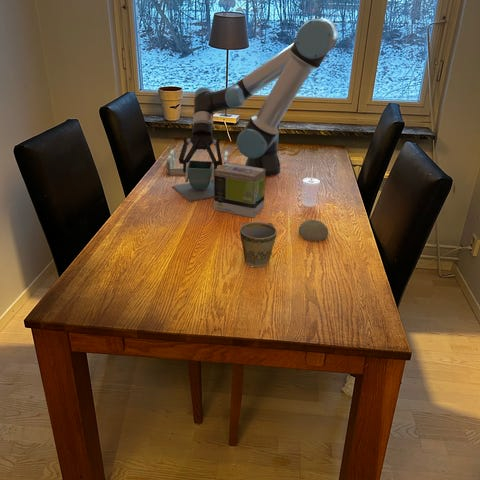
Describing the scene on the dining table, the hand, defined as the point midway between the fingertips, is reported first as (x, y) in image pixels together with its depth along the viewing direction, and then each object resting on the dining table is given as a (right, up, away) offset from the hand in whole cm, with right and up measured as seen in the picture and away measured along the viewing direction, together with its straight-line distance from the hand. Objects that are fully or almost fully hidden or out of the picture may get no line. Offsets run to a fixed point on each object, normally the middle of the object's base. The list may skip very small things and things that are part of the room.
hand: (199, 180), depth 170 cm
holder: (-3, +9, +27) cm, 29 cm away
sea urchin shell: (+38, -21, -25) cm, 50 cm away
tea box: (+15, -11, -8) cm, 20 cm away
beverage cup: (+40, -9, -3) cm, 41 cm away
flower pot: (0, -2, +5) cm, 5 cm away
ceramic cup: (+20, -27, -39) cm, 52 cm away
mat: (0, -3, +5) cm, 6 cm away
